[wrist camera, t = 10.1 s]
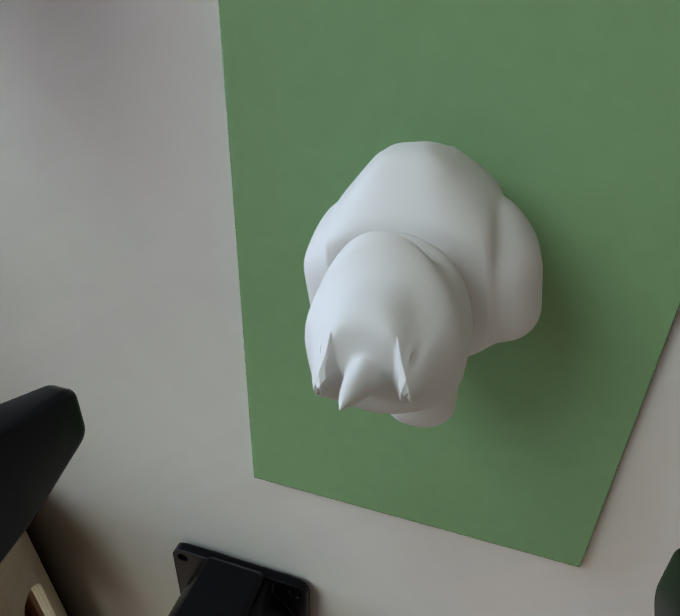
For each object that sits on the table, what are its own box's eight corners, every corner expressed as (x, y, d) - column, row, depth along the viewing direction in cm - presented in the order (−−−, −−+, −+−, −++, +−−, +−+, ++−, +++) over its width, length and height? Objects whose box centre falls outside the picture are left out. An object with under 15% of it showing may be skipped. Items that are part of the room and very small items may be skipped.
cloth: (579, 560, 20) (579, 567, 20) (256, 471, 23) (253, 477, 23) (868, -206, 10) (875, -210, 9) (210, -187, 13) (203, -189, 12)
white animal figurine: (550, 111, 13) (535, 272, 7) (541, 356, 16) (525, 624, 10) (324, 126, 15) (140, 264, 9) (354, 344, 18) (238, 565, 12)
